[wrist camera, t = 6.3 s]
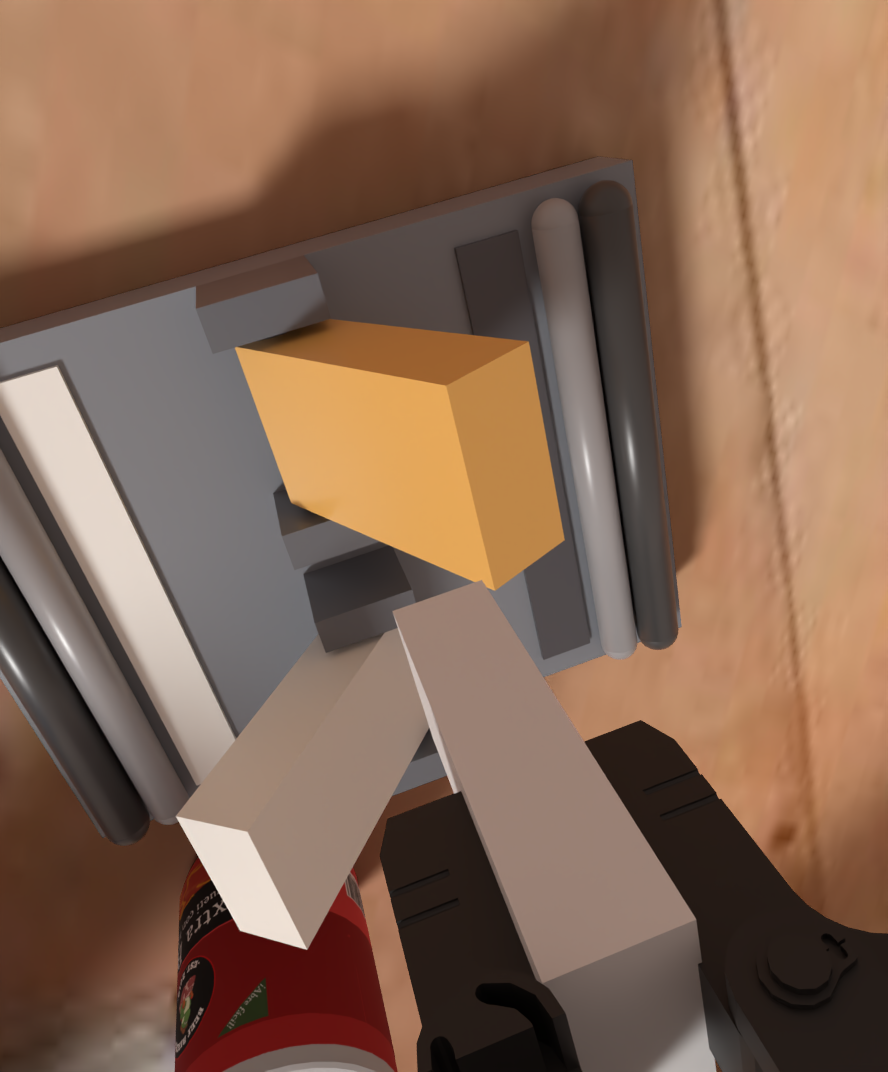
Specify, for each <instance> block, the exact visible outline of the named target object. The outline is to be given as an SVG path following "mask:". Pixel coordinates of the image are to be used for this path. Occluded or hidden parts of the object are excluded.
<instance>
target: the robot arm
mask: <svg viewBox="0 0 888 1072" xmlns="http://www.w3.org/2000/svg"><path fill="white" fill-rule="evenodd" d="M393 615H394V618H395V621H396V624H397V627H398V630H399V633H400V637H401V640H402V643H403V646H404V649H405V652H406V655H407V659H408V662H409V665H410V668H411V671H412V674H413V677H414V681H415V684H416V687H417V690H418V693H419V696H420V699H421V703H422V706H423V709H424V712H425V715H426V718H427V721H428V725H429V728H430V731H431V734H432V737H433V740H434V743H435V745H436V748H437V750H438V753H439V756H440V758H441V761H442V763H443V766H444V769H445V771H446V774H447V776H448V779H449V782H450V784H451V787H452V789H453V792H454V794H452V795H449V796H447V797H444V798H441V799H439V800H436V801H433V802H431V803H428V804H426V805H423V806H420V807H418V808H415V809H412V810H410V811H407V812H404V813H402V814H399V815H397V816H394V817H391V818H389V819H388V820H387V824H386V829H385V834H384V838H383V843H382V848H381V853H380V859H381V863H382V867H383V871H384V875H385V879H386V883H387V887H388V891H389V894H390V897H391V903H392V907H393V911H394V915H395V919H396V923H397V926H398V929H399V930H398V931H399V935H400V939H401V943H402V947H403V951H404V955H405V959H406V963H407V967H408V971H409V975H410V979H411V983H412V987H413V991H414V995H415V999H416V1003H417V1007H418V1011H419V1015H420V1019H421V1023H422V1029H421V1032H420V1035H419V1038H418V1041H417V1065H418V1072H716V1065H715V1060H716V1061H717V1063H718V1065H719V1067H720V1069H721V1070H722V1072H888V934H883V933H869V932H865V931H861V930H857V929H852V928H848V927H846V926H844V925H841V924H839V923H837V922H834V921H832V920H830V919H828V918H826V917H824V916H823V915H821V914H820V913H818V912H817V911H815V910H814V909H812V908H811V907H809V906H808V905H807V904H806V903H805V902H804V901H803V900H802V899H801V898H800V897H799V896H798V895H797V894H796V893H795V892H794V891H793V890H792V889H791V887H790V886H789V885H788V884H787V882H786V881H785V880H784V879H783V877H782V876H781V875H780V873H779V872H778V871H777V870H776V868H775V867H774V866H773V865H772V863H771V862H770V861H769V859H768V858H767V857H766V856H765V854H764V853H763V852H762V850H761V849H760V848H759V847H758V845H757V844H756V843H755V842H754V840H753V839H752V838H751V836H750V835H749V834H748V833H747V831H746V830H745V829H744V828H743V826H742V825H741V824H740V822H739V821H738V820H737V819H736V817H735V816H734V815H733V813H732V812H731V811H730V810H729V808H728V807H727V806H726V805H725V803H724V802H723V801H722V799H719V798H718V797H717V794H716V792H715V791H714V789H713V788H712V787H711V785H710V784H709V783H708V782H707V780H706V779H705V778H704V776H703V775H702V774H701V775H700V774H699V772H698V769H697V768H696V766H695V765H694V764H693V762H692V761H691V760H690V759H689V757H688V756H687V755H686V754H685V752H684V751H683V750H682V748H681V747H680V746H679V745H678V743H677V742H676V741H675V740H674V739H673V738H671V737H669V736H667V735H666V734H664V733H662V732H660V731H659V730H657V729H655V728H653V727H652V726H650V725H648V724H647V723H645V722H643V721H641V720H640V721H637V722H635V723H632V724H629V725H627V726H624V727H622V728H619V729H616V730H614V731H611V732H608V733H606V734H603V735H601V736H598V737H595V738H593V739H590V740H587V741H585V742H584V741H583V739H582V738H581V736H580V735H579V733H578V731H577V730H576V728H575V727H574V725H573V724H572V722H571V720H570V719H569V717H568V716H567V714H566V712H565V711H564V709H563V708H562V706H561V705H560V703H559V701H558V700H557V698H556V697H555V695H554V693H553V692H552V690H551V689H550V687H549V686H548V684H547V682H546V681H545V679H544V678H543V676H542V674H541V673H540V671H539V670H538V668H537V667H536V665H535V663H534V662H533V660H532V659H531V657H530V655H529V654H528V652H527V651H526V649H525V648H524V646H523V644H522V643H521V641H520V640H519V638H518V636H517V635H516V633H515V632H514V630H513V629H512V627H511V625H510V624H509V622H508V621H507V619H506V617H505V616H504V614H503V613H502V611H501V610H500V608H499V606H498V605H497V603H496V602H495V600H494V598H493V597H492V595H491V594H490V592H489V591H488V589H487V587H486V586H485V584H484V583H483V581H482V580H480V581H477V582H474V583H472V584H469V585H466V586H463V587H460V588H457V589H454V590H451V591H449V592H446V593H443V594H440V595H437V596H434V597H431V598H428V599H426V600H423V601H420V602H417V603H414V604H411V605H408V606H406V607H403V608H400V609H397V610H394V611H393Z"/></svg>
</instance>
